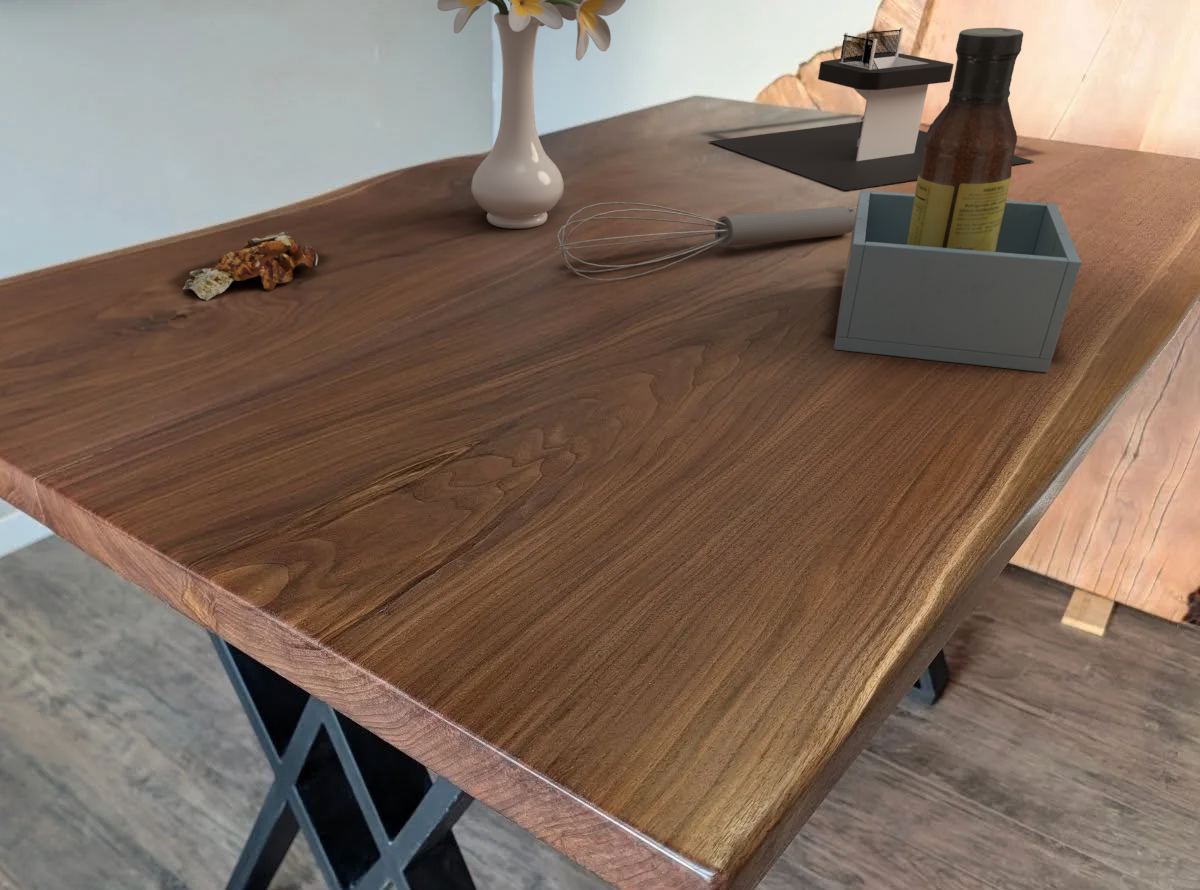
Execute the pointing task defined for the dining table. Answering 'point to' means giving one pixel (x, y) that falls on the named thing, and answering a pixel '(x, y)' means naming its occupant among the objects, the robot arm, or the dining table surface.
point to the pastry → (253, 265)
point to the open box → (957, 288)
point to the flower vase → (526, 106)
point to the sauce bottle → (969, 148)
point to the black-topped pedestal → (873, 145)
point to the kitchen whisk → (733, 230)
